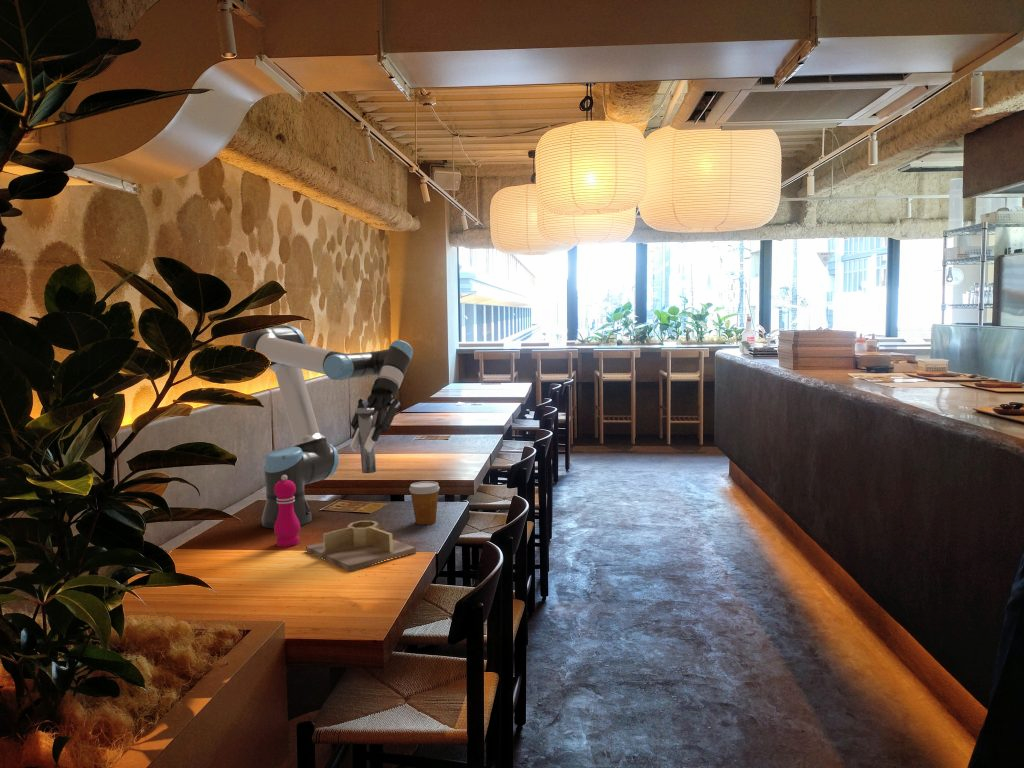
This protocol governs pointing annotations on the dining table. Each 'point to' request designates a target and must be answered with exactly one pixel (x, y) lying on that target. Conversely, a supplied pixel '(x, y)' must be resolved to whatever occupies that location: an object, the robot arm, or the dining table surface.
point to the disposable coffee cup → (424, 501)
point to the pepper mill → (286, 514)
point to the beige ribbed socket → (358, 537)
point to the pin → (364, 431)
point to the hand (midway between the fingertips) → (360, 449)
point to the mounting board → (359, 554)
